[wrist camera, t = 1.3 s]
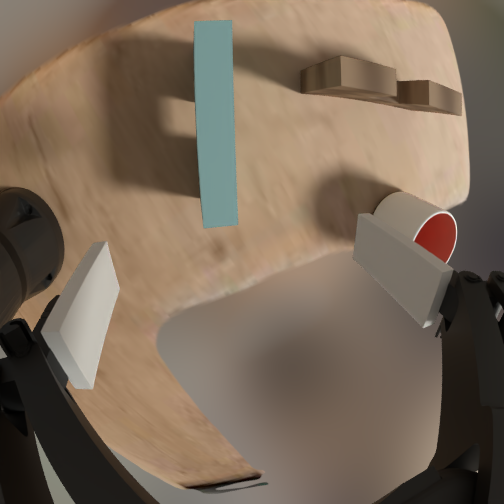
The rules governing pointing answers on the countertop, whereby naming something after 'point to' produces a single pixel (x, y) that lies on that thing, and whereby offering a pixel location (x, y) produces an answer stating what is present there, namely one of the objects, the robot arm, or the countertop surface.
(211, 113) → the teal arch piece
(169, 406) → the countertop surface
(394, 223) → the cup
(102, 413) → the countertop surface
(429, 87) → the u-notched wood block
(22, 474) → the robot arm
